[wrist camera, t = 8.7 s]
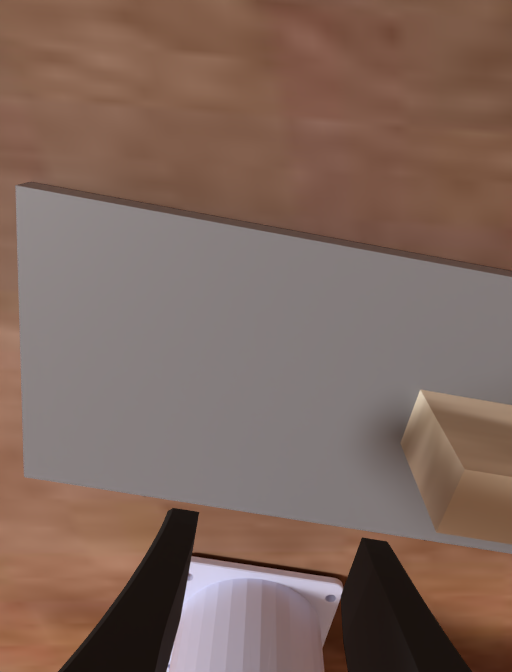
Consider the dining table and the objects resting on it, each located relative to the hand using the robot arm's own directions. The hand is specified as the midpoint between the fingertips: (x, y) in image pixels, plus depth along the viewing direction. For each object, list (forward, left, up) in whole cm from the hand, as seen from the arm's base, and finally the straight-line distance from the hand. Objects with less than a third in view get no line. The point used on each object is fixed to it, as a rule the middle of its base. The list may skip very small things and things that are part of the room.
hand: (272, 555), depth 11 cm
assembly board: (0, -8, -8) cm, 12 cm away
